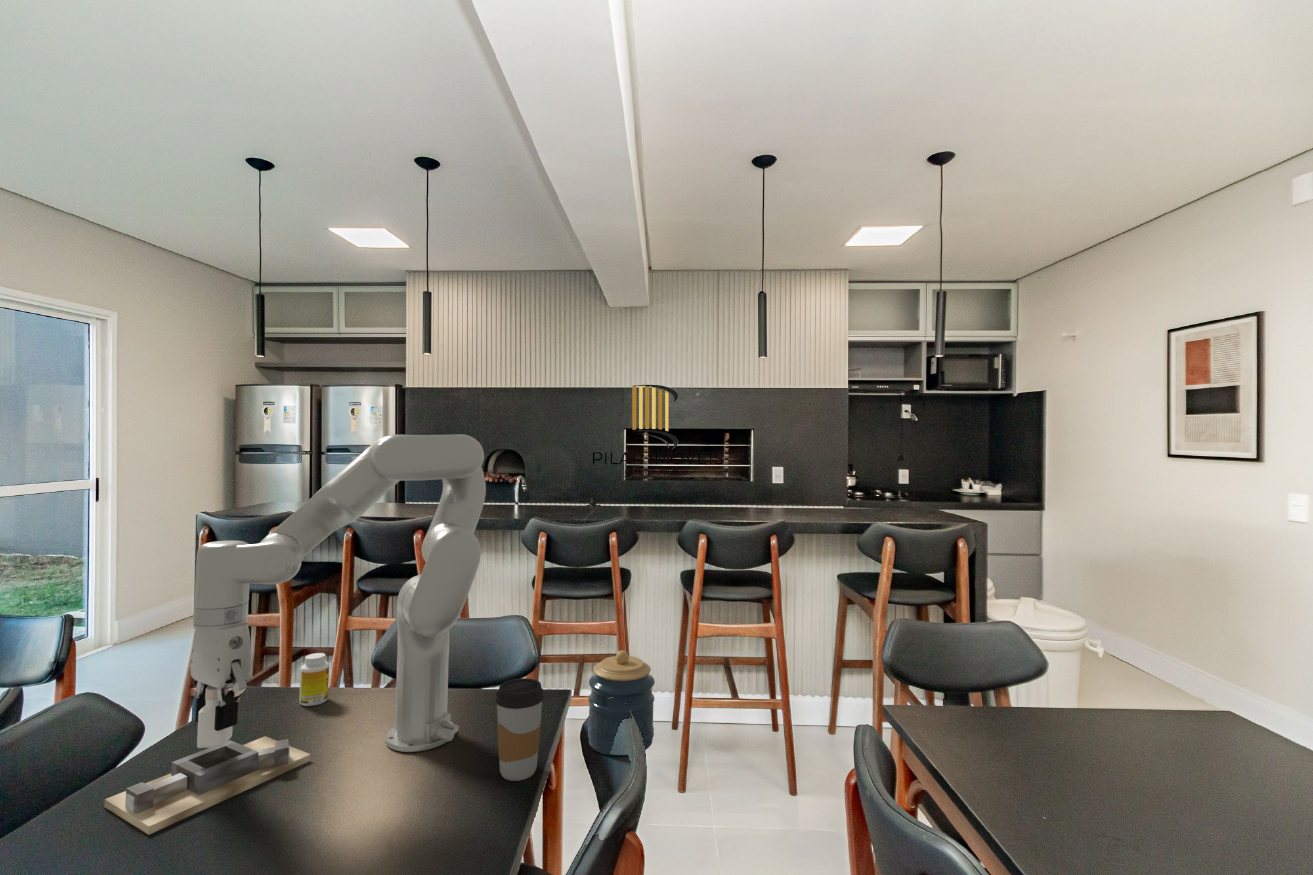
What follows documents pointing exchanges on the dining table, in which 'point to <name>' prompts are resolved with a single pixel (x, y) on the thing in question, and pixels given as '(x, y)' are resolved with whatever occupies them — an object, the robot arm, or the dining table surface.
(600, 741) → the canister
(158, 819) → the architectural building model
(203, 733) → the pepper shaker
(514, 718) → the coffee cup
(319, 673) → the supplement bottle
